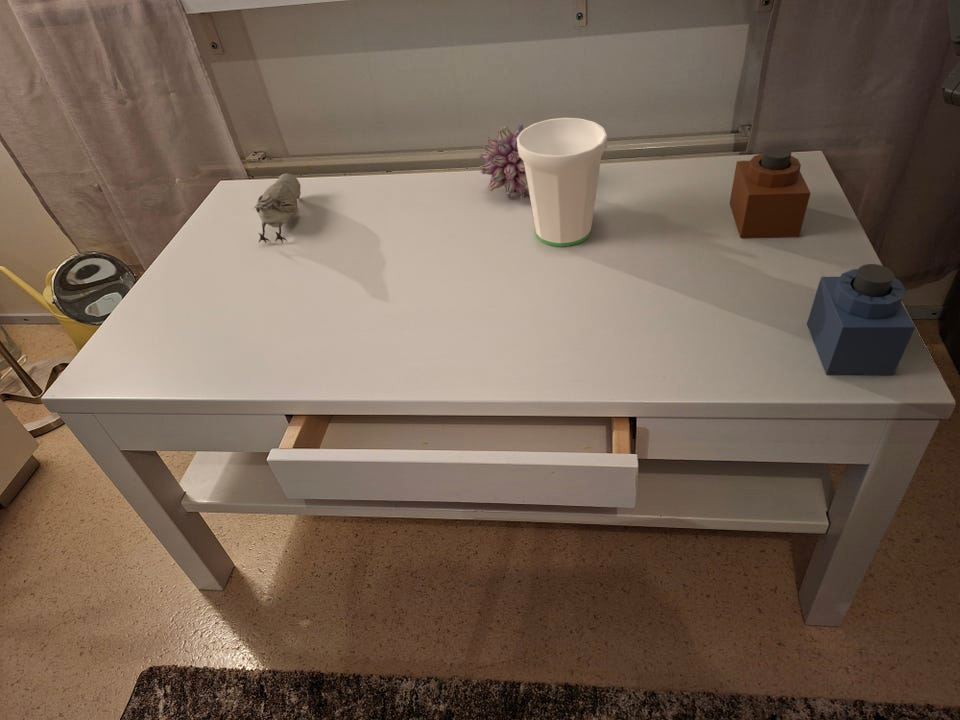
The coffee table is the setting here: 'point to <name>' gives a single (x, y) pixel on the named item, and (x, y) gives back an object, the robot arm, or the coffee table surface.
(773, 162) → the grey round disc
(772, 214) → the brown block with collar
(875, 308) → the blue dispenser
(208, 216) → the coffee table surface
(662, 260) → the coffee table surface
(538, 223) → the cup
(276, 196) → the decorative bird
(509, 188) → the flower
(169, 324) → the coffee table surface
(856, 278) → the dark grey round cap
